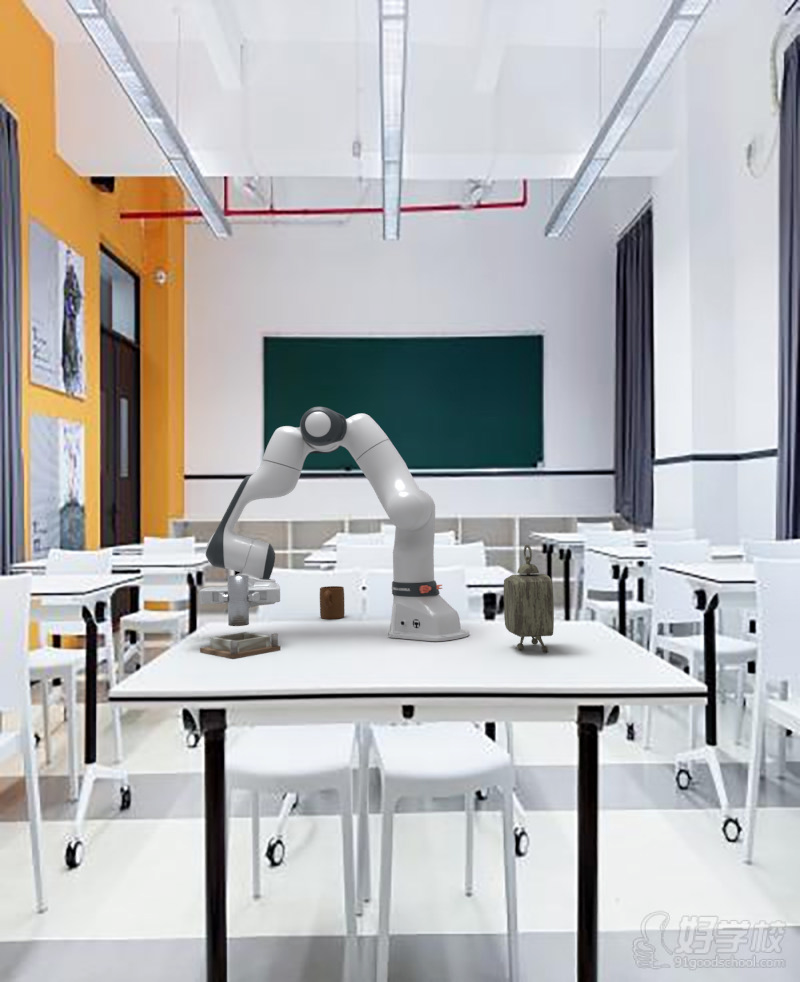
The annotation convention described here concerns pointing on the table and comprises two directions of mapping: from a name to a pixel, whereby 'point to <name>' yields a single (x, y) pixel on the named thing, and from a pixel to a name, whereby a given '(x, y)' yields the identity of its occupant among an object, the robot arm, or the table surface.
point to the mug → (332, 602)
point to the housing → (241, 645)
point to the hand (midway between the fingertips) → (238, 598)
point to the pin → (238, 600)
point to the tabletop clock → (529, 604)
